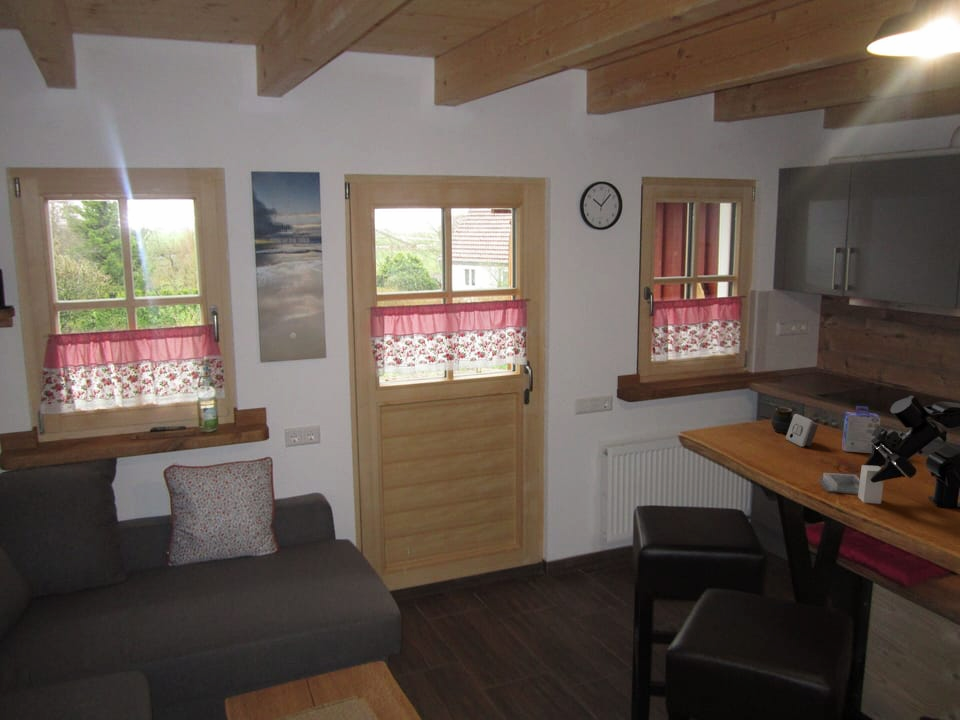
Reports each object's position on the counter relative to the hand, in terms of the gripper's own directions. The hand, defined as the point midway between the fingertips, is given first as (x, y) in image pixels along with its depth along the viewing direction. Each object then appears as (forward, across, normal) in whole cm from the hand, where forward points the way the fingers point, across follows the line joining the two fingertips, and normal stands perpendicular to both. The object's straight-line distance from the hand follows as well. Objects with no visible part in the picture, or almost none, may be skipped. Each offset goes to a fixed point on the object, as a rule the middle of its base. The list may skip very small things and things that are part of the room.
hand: (866, 476), depth 211 cm
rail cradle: (+6, -9, +3) cm, 11 cm away
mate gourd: (+10, -64, 0) cm, 65 cm away
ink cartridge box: (-4, -46, +14) cm, 48 cm away
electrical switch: (+8, -51, +2) cm, 52 cm away
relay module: (+4, 0, +6) cm, 7 cm away
